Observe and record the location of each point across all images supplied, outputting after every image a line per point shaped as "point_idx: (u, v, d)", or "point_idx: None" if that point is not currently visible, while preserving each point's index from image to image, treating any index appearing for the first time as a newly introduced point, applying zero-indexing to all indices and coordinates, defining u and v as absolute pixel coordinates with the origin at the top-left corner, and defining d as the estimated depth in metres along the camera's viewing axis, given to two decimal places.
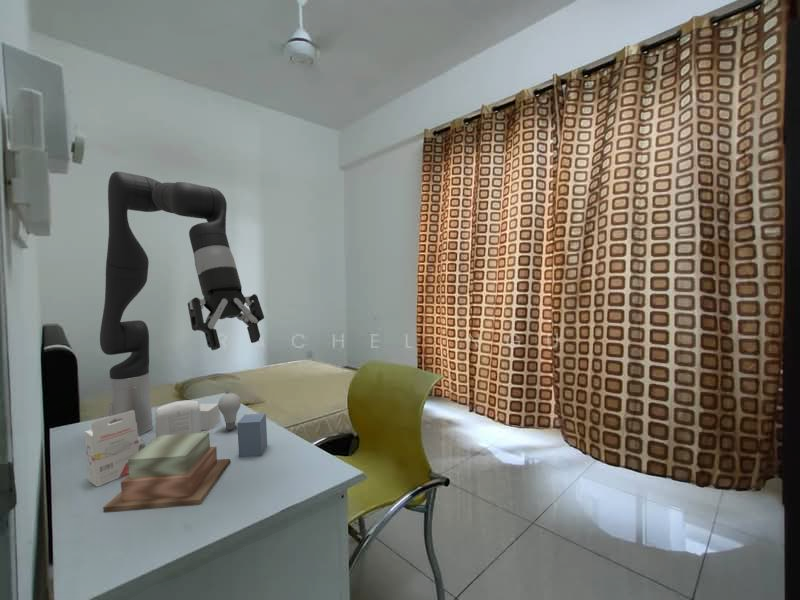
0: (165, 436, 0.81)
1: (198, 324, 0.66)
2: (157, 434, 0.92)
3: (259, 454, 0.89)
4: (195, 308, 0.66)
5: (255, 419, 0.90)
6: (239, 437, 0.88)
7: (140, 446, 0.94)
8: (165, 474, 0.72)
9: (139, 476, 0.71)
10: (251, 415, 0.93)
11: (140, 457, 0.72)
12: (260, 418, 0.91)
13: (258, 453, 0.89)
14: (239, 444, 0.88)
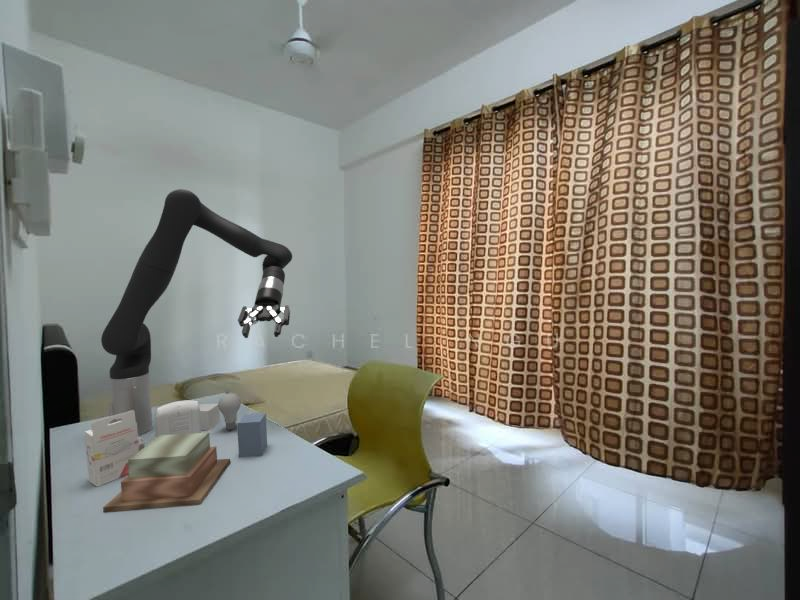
0: (165, 436, 0.81)
1: None
2: (157, 434, 0.92)
3: (259, 454, 0.89)
4: None
5: (255, 420, 0.90)
6: (239, 437, 0.88)
7: (140, 446, 0.94)
8: (165, 474, 0.72)
9: (139, 476, 0.71)
10: (251, 415, 0.93)
11: (140, 457, 0.72)
12: (260, 418, 0.91)
13: (258, 453, 0.89)
14: (239, 444, 0.88)
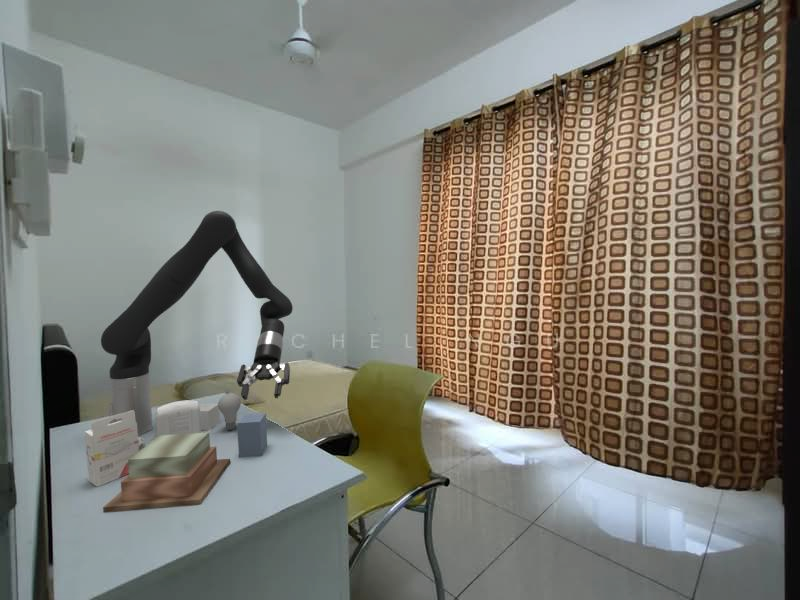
0: (165, 436, 0.81)
1: None
2: (157, 434, 0.92)
3: (259, 454, 0.89)
4: None
5: (255, 420, 0.90)
6: (239, 437, 0.88)
7: (140, 446, 0.94)
8: (165, 474, 0.72)
9: (139, 476, 0.71)
10: (251, 415, 0.93)
11: (140, 457, 0.72)
12: (260, 418, 0.91)
13: (258, 453, 0.89)
14: (239, 444, 0.88)
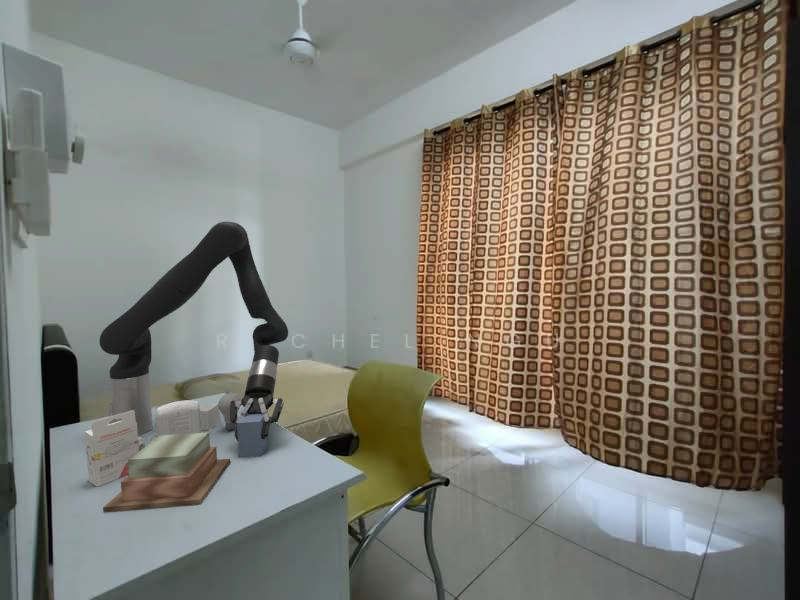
0: (165, 436, 0.81)
1: None
2: (157, 434, 0.92)
3: (259, 454, 0.89)
4: None
5: (255, 419, 0.90)
6: (239, 437, 0.88)
7: (140, 446, 0.94)
8: (165, 474, 0.72)
9: (139, 476, 0.71)
10: (251, 415, 0.93)
11: (140, 457, 0.72)
12: (260, 418, 0.91)
13: (258, 453, 0.89)
14: (239, 444, 0.88)
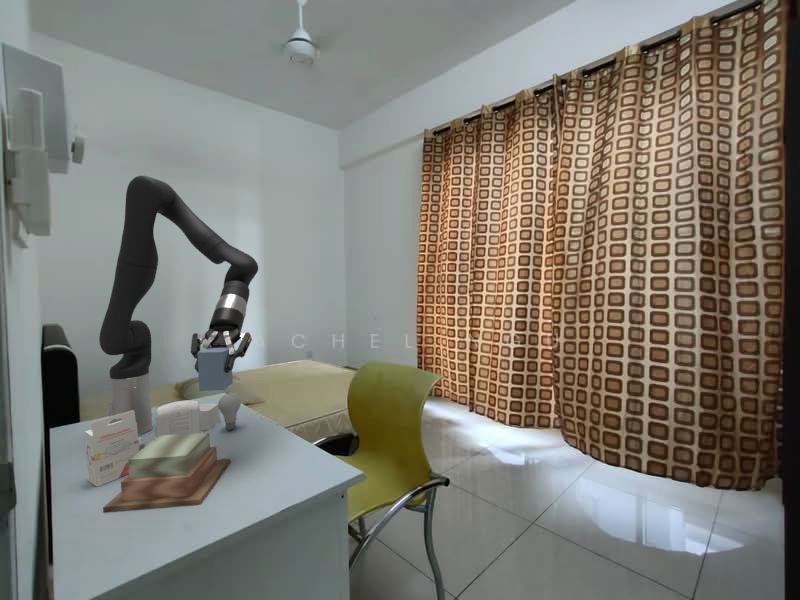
0: (165, 436, 0.81)
1: None
2: (157, 434, 0.92)
3: (222, 388, 0.82)
4: None
5: (218, 350, 0.82)
6: (199, 368, 0.81)
7: (140, 446, 0.94)
8: (165, 474, 0.72)
9: (139, 476, 0.71)
10: (215, 348, 0.85)
11: (140, 457, 0.72)
12: (224, 350, 0.83)
13: (220, 386, 0.82)
14: (199, 376, 0.81)
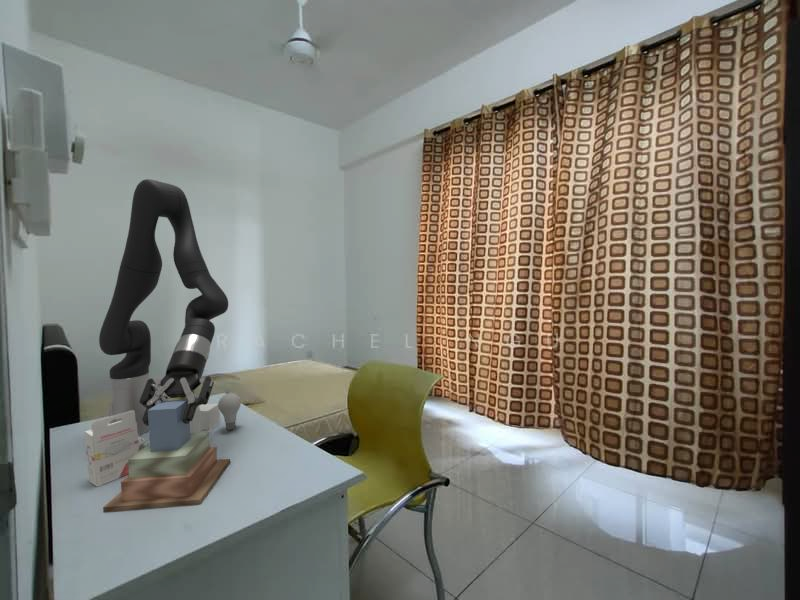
0: None
1: None
2: None
3: (175, 448, 0.74)
4: None
5: (172, 406, 0.75)
6: (150, 427, 0.73)
7: (140, 446, 0.94)
8: (165, 474, 0.72)
9: (139, 476, 0.71)
10: (170, 401, 0.78)
11: (140, 457, 0.72)
12: (178, 405, 0.76)
13: (174, 446, 0.74)
14: (150, 436, 0.73)
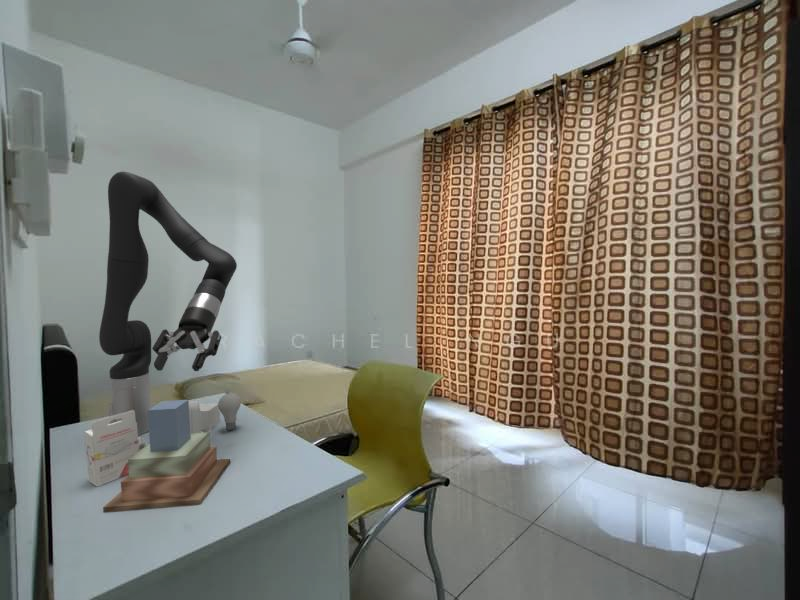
0: None
1: None
2: None
3: (175, 448, 0.74)
4: None
5: (172, 406, 0.75)
6: (150, 427, 0.73)
7: (140, 446, 0.94)
8: (165, 474, 0.72)
9: (139, 476, 0.71)
10: (170, 401, 0.78)
11: (140, 457, 0.72)
12: (178, 405, 0.76)
13: (174, 446, 0.74)
14: (150, 436, 0.73)
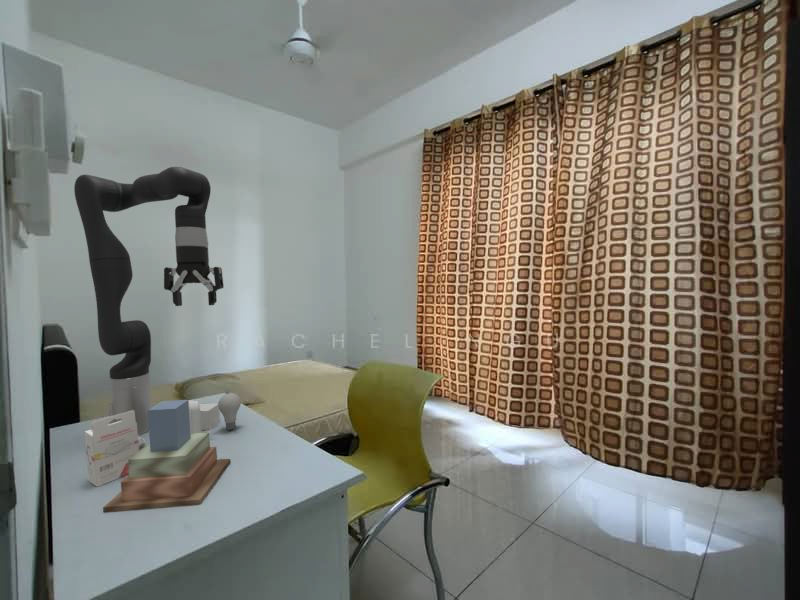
0: None
1: None
2: None
3: (175, 448, 0.74)
4: None
5: (172, 406, 0.75)
6: (150, 427, 0.73)
7: (141, 446, 0.94)
8: (165, 474, 0.72)
9: (139, 476, 0.71)
10: (170, 401, 0.78)
11: (140, 457, 0.72)
12: (178, 405, 0.76)
13: (174, 446, 0.74)
14: (150, 436, 0.73)
